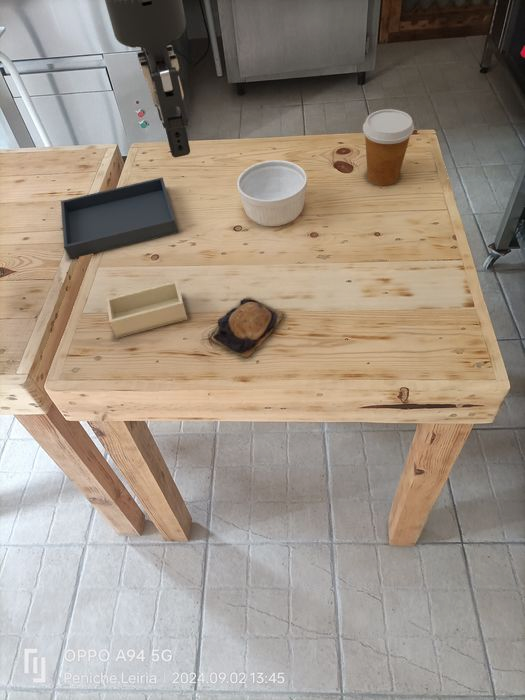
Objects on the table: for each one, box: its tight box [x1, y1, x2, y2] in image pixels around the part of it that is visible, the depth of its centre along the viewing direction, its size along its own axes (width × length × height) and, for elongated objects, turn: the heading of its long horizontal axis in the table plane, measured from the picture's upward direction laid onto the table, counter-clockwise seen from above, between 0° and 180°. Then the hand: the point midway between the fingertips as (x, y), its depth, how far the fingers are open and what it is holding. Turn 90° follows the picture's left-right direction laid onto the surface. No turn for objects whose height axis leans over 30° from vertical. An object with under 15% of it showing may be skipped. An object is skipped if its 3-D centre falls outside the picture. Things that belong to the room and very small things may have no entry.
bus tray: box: [60, 176, 179, 260], centre depth 106 cm, size 21×15×3 cm
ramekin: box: [236, 159, 308, 227], centre depth 103 cm, size 13×13×7 cm
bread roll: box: [210, 297, 283, 359], centre depth 85 cm, size 11×8×4 cm
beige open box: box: [106, 280, 188, 339], centre depth 88 cm, size 12×6×4 cm, turn 106°
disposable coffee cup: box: [362, 108, 415, 186], centre depth 104 cm, size 10×10×12 cm
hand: (174, 136), depth 65 cm, fingers open, 8 cm apart
